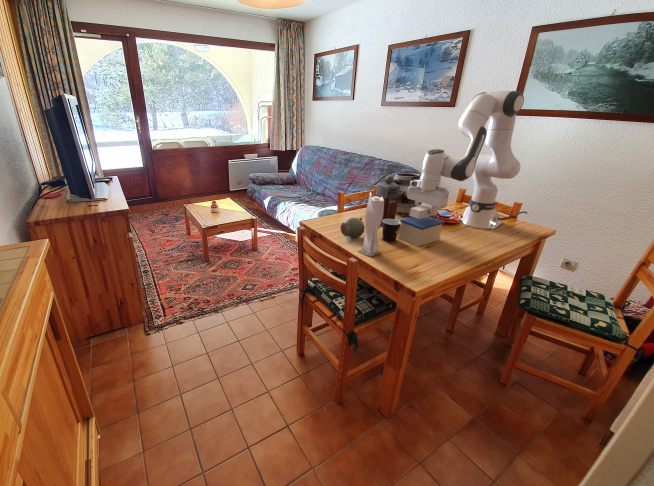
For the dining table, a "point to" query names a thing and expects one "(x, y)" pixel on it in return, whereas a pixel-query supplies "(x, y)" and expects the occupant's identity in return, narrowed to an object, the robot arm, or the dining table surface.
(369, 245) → the skyscraper
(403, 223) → the container
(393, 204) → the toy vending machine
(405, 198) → the ceramic pot
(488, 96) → the robot arm
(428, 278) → the dining table surface
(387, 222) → the coffee mug
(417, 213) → the case
